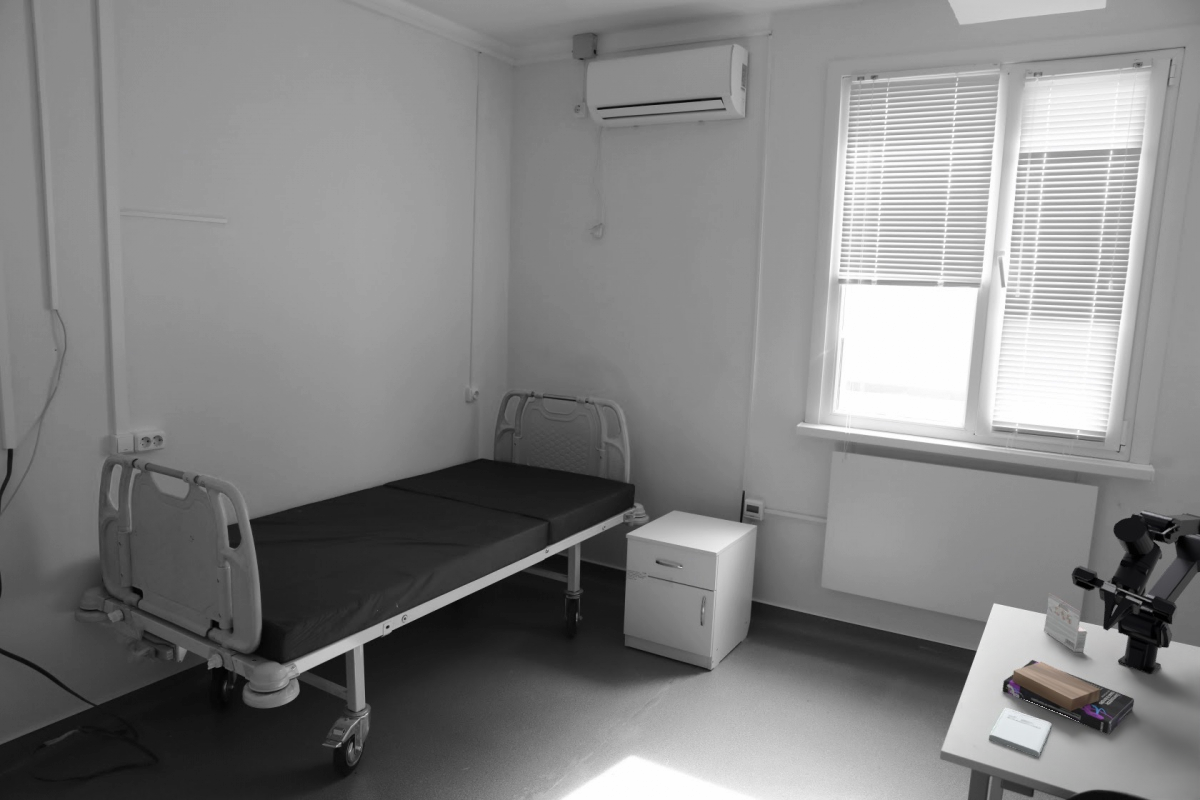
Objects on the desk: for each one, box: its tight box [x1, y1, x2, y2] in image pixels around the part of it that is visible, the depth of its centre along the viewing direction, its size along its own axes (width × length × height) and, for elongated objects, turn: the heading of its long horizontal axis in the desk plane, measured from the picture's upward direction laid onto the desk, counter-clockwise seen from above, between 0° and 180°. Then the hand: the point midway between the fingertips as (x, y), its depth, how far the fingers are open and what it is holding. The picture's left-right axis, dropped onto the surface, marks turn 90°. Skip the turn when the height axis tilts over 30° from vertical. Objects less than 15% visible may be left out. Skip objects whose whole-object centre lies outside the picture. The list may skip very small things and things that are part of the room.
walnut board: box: [1012, 661, 1100, 711], centre depth 161 cm, size 2×12×9 cm
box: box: [1002, 659, 1135, 735], centre depth 163 cm, size 14×4×20 cm
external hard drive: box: [988, 707, 1052, 758], centre depth 151 cm, size 2×8×12 cm
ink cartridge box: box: [1043, 592, 1088, 653], centre depth 190 cm, size 2×11×10 cm, turn 7°
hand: (1105, 629), depth 168 cm, fingers closed
